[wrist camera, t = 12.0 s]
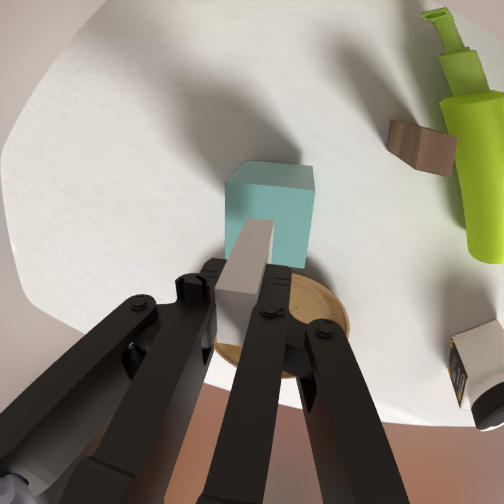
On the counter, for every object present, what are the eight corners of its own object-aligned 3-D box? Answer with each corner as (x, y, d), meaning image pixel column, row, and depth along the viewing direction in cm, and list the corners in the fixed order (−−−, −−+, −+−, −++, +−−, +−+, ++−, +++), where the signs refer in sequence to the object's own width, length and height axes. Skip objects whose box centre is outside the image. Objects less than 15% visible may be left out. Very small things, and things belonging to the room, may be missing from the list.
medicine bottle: (450, 335, 29) (479, 416, 19) (497, 317, 27) (535, 390, 17) (447, 370, 32) (468, 444, 22) (490, 354, 30) (518, 422, 19)
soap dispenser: (461, 270, 21) (391, 16, 13) (471, 228, 24) (414, 24, 17) (522, 273, 16) (468, -4, 9) (522, 228, 20) (472, 10, 12)
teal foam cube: (312, 166, 23) (315, 190, 17) (305, 227, 25) (304, 268, 19) (245, 160, 23) (225, 182, 17) (243, 220, 26) (224, 259, 20)
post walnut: (419, 125, 20) (457, 137, 14) (415, 155, 21) (450, 177, 15) (390, 119, 20) (422, 128, 14) (386, 150, 22) (415, 169, 16)
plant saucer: (249, 229, 27) (243, 242, 25) (375, 301, 29) (379, 318, 27) (191, 327, 35) (184, 342, 32) (297, 377, 36) (295, 393, 34)
